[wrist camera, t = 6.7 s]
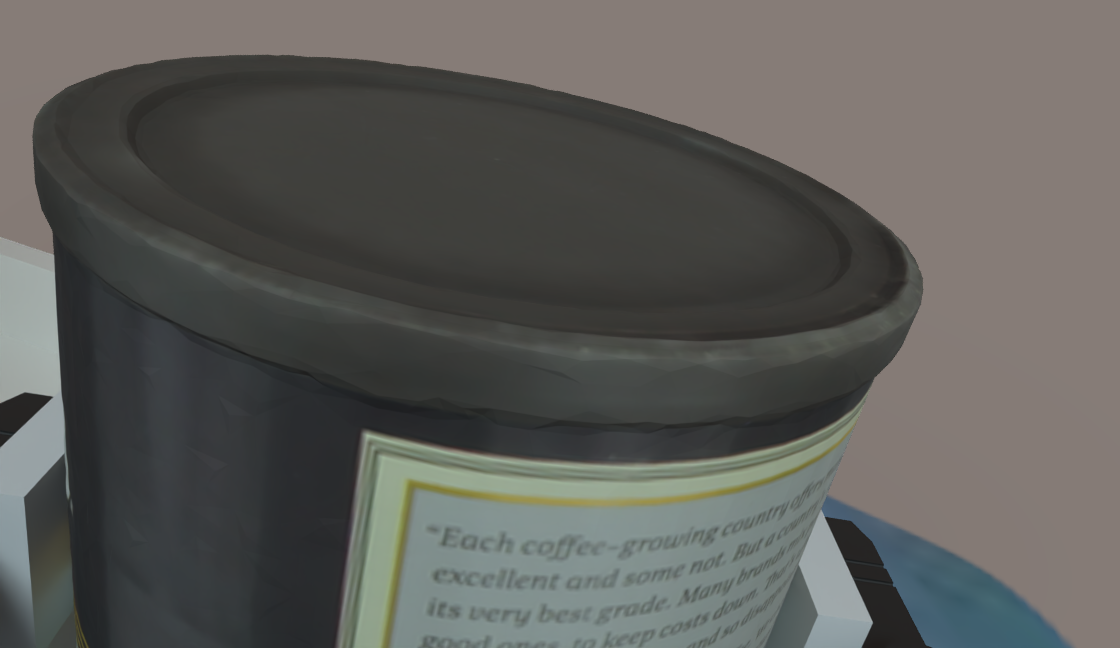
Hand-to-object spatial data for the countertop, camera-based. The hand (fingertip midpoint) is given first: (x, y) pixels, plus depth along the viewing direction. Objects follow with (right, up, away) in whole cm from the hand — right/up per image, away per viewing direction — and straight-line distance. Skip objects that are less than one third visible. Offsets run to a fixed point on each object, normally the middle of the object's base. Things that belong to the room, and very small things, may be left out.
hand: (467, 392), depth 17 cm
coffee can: (-2, -9, 0) cm, 9 cm away
